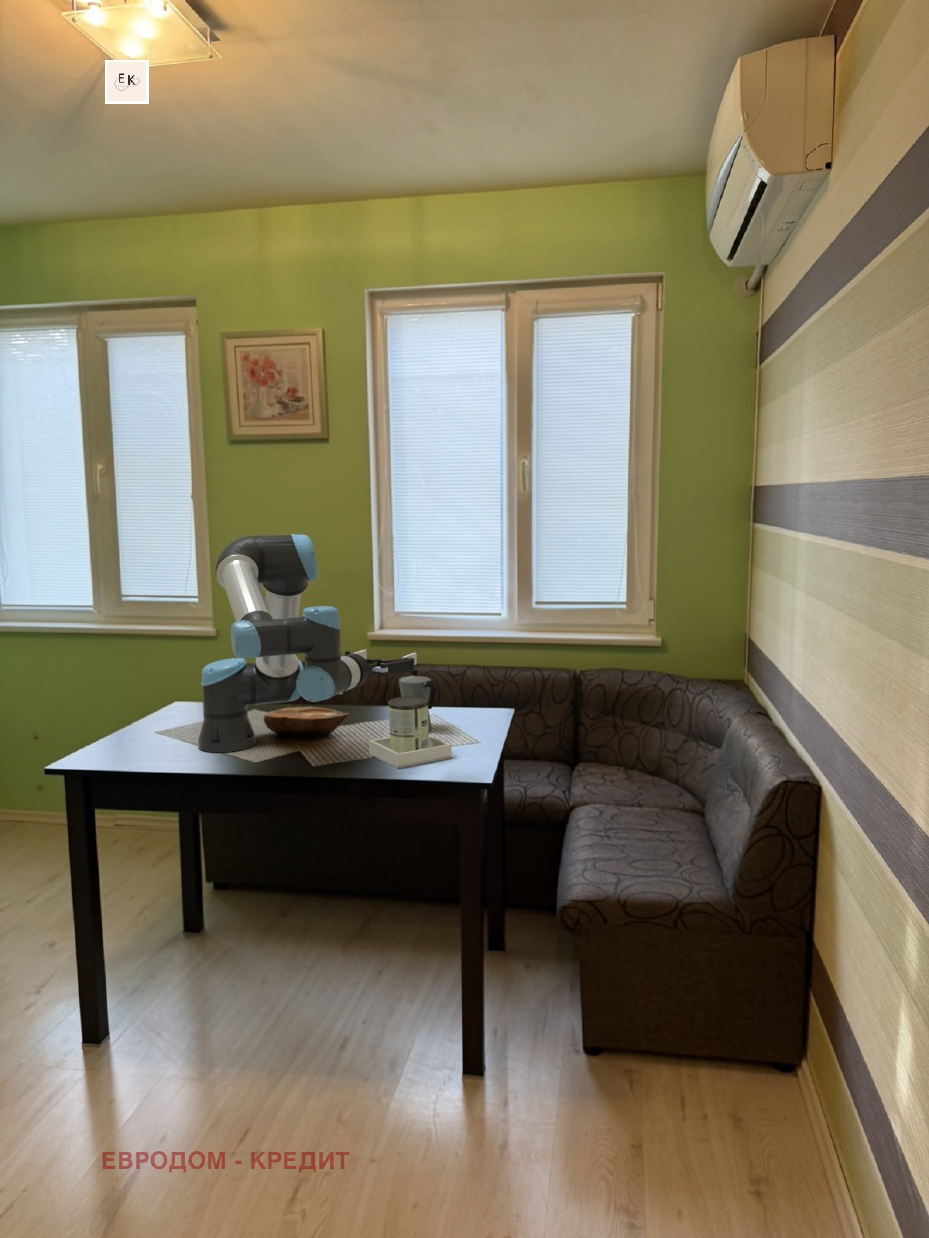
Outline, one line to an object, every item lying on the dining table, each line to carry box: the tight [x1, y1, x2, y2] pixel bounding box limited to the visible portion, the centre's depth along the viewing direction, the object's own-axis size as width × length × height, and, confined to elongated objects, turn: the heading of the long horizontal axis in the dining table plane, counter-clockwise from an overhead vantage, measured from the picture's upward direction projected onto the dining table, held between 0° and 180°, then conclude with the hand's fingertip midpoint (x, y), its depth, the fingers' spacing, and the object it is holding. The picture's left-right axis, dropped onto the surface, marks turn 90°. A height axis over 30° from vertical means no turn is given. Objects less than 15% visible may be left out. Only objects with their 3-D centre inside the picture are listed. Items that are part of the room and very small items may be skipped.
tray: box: [368, 735, 452, 770], centre depth 220 cm, size 16×16×4 cm
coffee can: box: [387, 696, 429, 753], centre depth 219 cm, size 10×10×14 cm
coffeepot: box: [398, 668, 437, 733], centre depth 244 cm, size 15×9×18 cm, turn 43°
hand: (390, 656), depth 208 cm, fingers open, 13 cm apart
